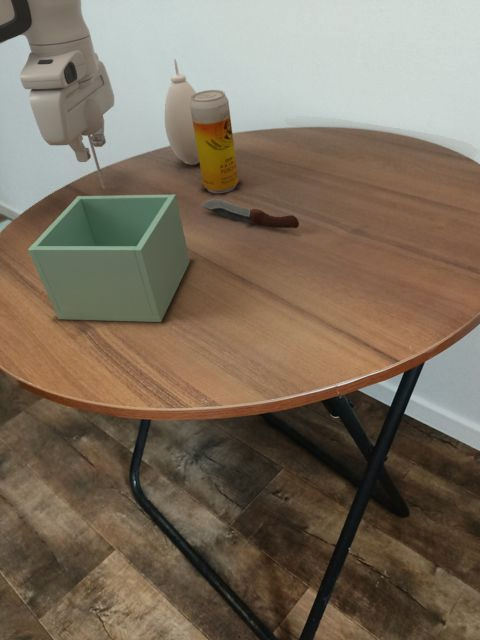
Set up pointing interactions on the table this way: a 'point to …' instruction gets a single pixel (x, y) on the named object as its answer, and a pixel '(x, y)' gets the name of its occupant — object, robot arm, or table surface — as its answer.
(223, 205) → the knife
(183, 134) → the sauce bottle
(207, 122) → the beer can
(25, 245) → the table surface
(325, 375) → the table surface
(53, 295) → the tub
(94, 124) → the lollipop
